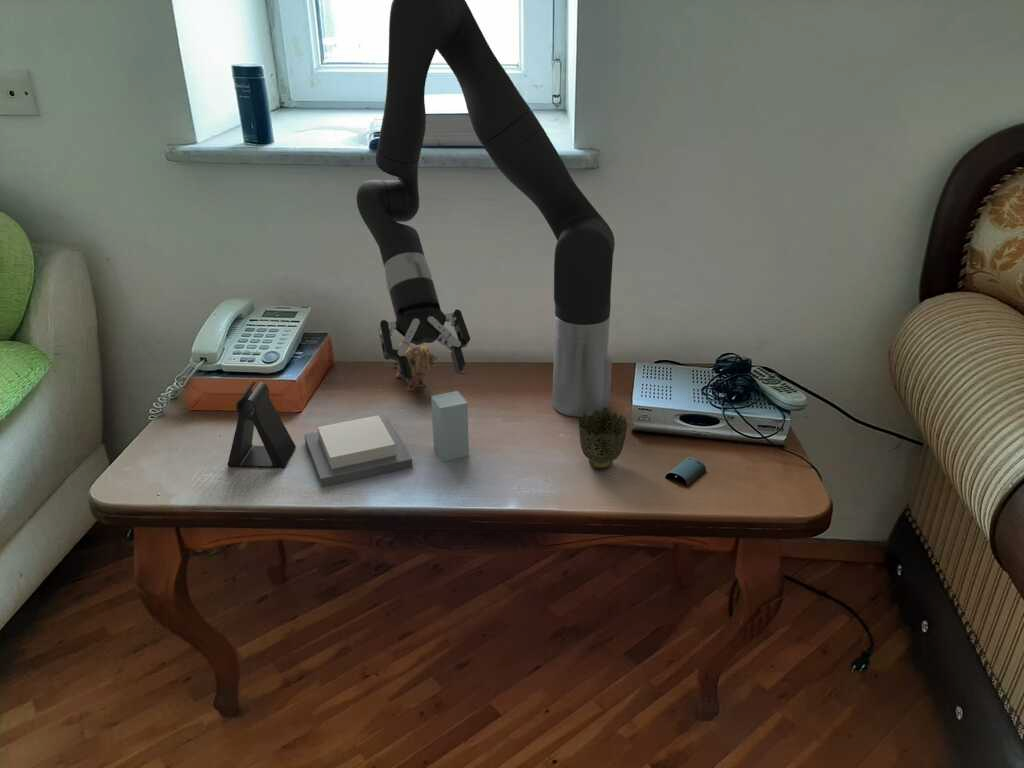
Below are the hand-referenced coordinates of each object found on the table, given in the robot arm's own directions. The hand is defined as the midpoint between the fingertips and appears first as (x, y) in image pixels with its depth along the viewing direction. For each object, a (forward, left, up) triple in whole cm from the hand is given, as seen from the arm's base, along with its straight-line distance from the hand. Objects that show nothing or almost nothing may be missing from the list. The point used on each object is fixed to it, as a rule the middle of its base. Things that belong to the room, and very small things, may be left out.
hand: (435, 375), depth 126 cm
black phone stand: (+28, -3, -11) cm, 30 cm away
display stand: (+14, +2, -10) cm, 18 cm away
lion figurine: (-2, -20, -11) cm, 23 cm away
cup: (-20, +20, -11) cm, 30 cm away
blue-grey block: (0, +7, -10) cm, 12 cm away
